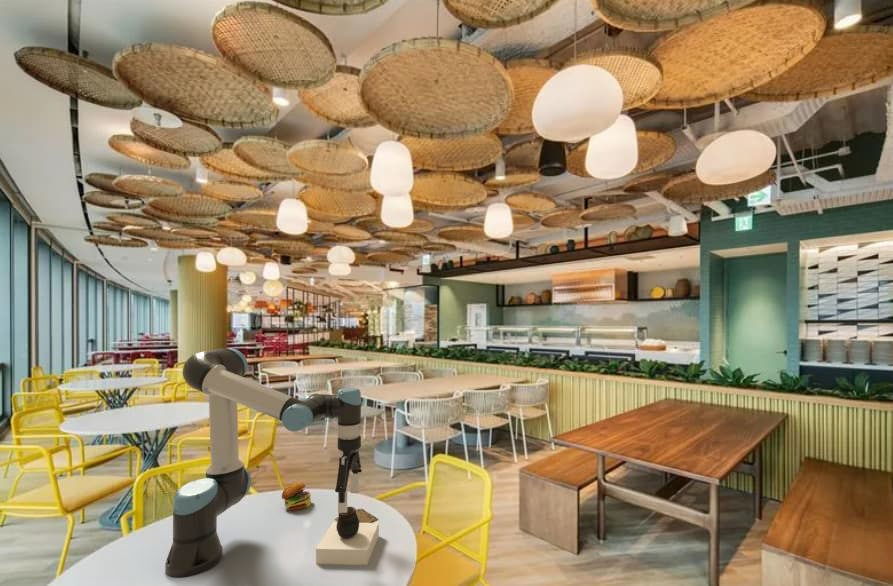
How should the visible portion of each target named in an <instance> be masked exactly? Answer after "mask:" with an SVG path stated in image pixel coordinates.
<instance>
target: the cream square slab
mask: <svg viewBox="0 0 893 586" xmlns="http://www.w3.org/2000/svg"><path fill="white" fill-rule="evenodd" d="M379 538H380V523H379V522H372V523H359V529H358V532H357V533H356V534H355V535H354V536H353V537H351V538H347V539H345V538H342V537H340V536H339V535H338V532H337V521H336V522H334V521H333V522H332V523H331V524H330V527H329V528H328V530H327V532H326V533H325V534H324V536H323V537H322V539H321V541H320V542H319V543H318V545H317V547H316V548H315V564H316V565H317V564H318V565H350V566H351V565H353V566H354V565H357V566H359V565H360V566H367V565H368V564H369V562H370V559H371V556H372V554H373V552H374V550H375V546H376V544H377V541H378V539H379Z"/></svg>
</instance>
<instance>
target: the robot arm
mask: <svg viewBox="0 0 893 586" xmlns="http://www.w3.org/2000/svg"><path fill="white" fill-rule="evenodd" d="M248 367H249V366H248V360H247V358H246V356H245V354H243V353H242V352H241V351H240V350H238V349H236V348H219V349H212V350H205V351H203V350H202V351H199V352H196V353H194V354H192V355H190V357H189V358H188V359H186V361H185V363H184V365H183V368H182V376H183V377H182V378H183V379H184V382H185V383H186V384H187V385H188V386H189V387H190V388H192V389H194V390H196V391H199V392H201V393H203V394H205V395H208V402H209V403H208V405H209V407H208V408H209V409H208V411H209V412H208V413H209V441H210V442H209V443H210V448H209V449H210V465H209V466H208V467H207V468H206V469H205V477H204V478H198V479H196V480H193V481H189V482H187V483H185V484H184V485H183V486H181V487H179V488H178V489H177V491H176V492H175V494H174V496H173V497H174V499H173V504H172V513H173V514H172V544H171V546H170V549H169V552H168V554H167V555H168V556H167V557H166V560H165V567H164V568H165V569H164V570H165V571H164V572H165V574H166V575H167V576H168V577H170V578H174V579H183V578H189V577H194V576H197V575H200V574H202V573H204V572H206V571H209V570H210V569H212V568H214V567H215V566H217V564H218V563H220V561H221V560H222V558H223V545H222V543H221V540H220V538H219V534H218V531H217V528H218V527H217V524H218V519H217V518H218V517H219V516H220V515H221V514H223V513H224V512H226V511H227V510H229V509H230V508H231V507H233V506H234V505H236V504H238V503H240V501H241V500H242V499H243V498H245V497H246V496H247V494H248V493H249V490H251V486H252V477H251V473H250V471H248V469H247V467H245V463H244V462H243V461H242V460H241V459H239V457H240V455H239V454H240V453H239V423H238V422H239V421H238V420H239V419H238V415H239V414H238V404H239V405H241V406H244V407H246V408H249V409H251V410H253V411H257V412H258V413H261V414H264V415H266V416H269V417H271V418H274V419H276V420H278V421H281V423H282V425H283V427H285V429H286V430H288V431H289V432H294V433H295V432H299V431H302V430H304V429H307V428H308V427H309V426H311V425H312V424H314V423H316V422H318V421H319V420H321V419H324V418H325V419H329V418H330V419H337V433H336V434H337V435H336V436H337V450H338V451H340V452H342V455H341V457H339V459H338V461H339V463H338V472H337V479H336V485H335V489H334V491H335V493H337V512H338V514H339V513H347V507H348V490H347V489H348V482H349V477H350V494H359V493H360V473H362V471H363V470H362V464H361V458H360V451H359V449H360V448H361V447H362V436H361V433H362V432H361V431H362V429H363V425H362V395H361V390H360V389H359V388H357V387H344V388H339V390H337V394H327V393H325V394H322V393H312V394H311V393H308V394H306V395H304V397H303V398H302V399H298V398H295V397H293V396H290V395H288V394H286V393H284V392H281V391H278V390H276V389H273V388H271V387H268V386H266V385H264V384H261V383H259V382H256V381H253V380H251V379H249V378H247V377H244V376H245V374H247V371H248ZM350 472H351V473H350Z"/></svg>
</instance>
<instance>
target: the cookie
mask: <svg viewBox="0 0 893 586" xmlns="http://www.w3.org/2000/svg"><path fill="white" fill-rule="evenodd" d="M356 514H357V517H358V519H359V523H375V522H376V521H378V520H379V518H378V517H376V516H375V515H373V514H372V513H370V512H368V511H366V510H365V509H364V508H358V509H356ZM338 518H339V516H338V517H336V518H334V521H336V522H338Z"/></svg>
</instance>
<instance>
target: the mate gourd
mask: <svg viewBox="0 0 893 586" xmlns="http://www.w3.org/2000/svg"><path fill="white" fill-rule="evenodd" d="M356 510H357V509H356V507H354V506H347V513H338V517H339V518H338V522H337V521H336V522H337V532H338V535H339V536H340V537H342V538H345V539H347V538H351V537H353V536H354V535H355V534H356V533H357V532H358V529H359V519H358V517H357V514H356Z"/></svg>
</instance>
